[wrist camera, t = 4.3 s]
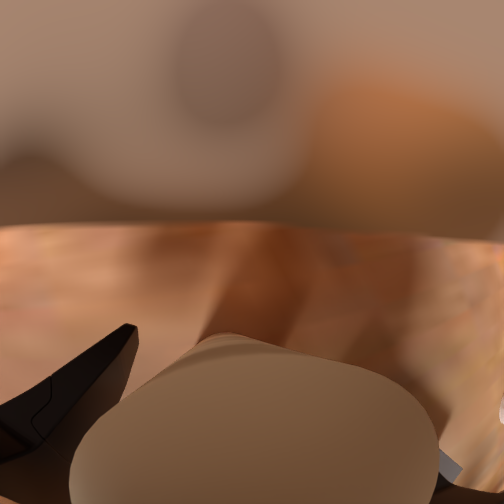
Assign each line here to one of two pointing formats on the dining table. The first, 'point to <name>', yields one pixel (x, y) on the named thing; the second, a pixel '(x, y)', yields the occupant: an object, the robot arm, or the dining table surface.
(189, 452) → the peg
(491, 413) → the dining table surface
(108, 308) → the dining table surface
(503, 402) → the shot glass
